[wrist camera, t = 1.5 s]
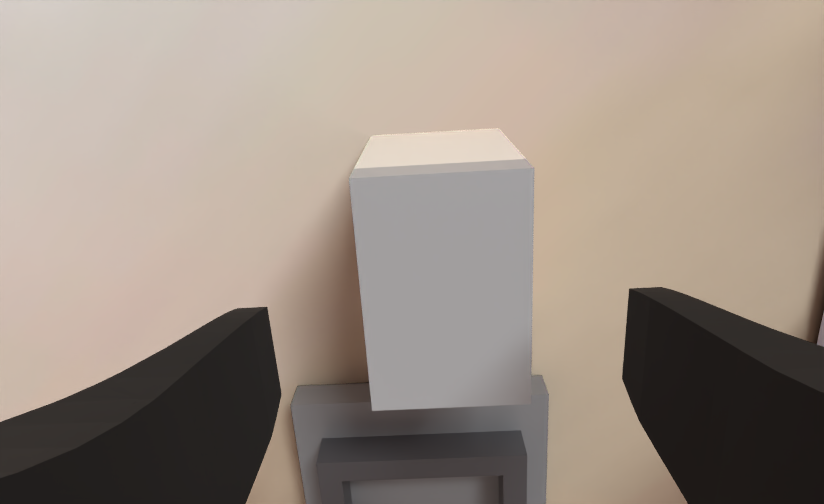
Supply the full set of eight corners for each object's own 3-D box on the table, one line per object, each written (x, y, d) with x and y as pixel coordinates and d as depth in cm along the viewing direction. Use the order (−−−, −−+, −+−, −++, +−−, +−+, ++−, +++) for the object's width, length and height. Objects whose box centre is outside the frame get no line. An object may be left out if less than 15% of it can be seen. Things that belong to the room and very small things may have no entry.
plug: (498, 128, 18) (534, 168, 12) (499, 301, 20) (530, 403, 14) (371, 135, 18) (348, 178, 12) (385, 307, 20) (372, 411, 14)
